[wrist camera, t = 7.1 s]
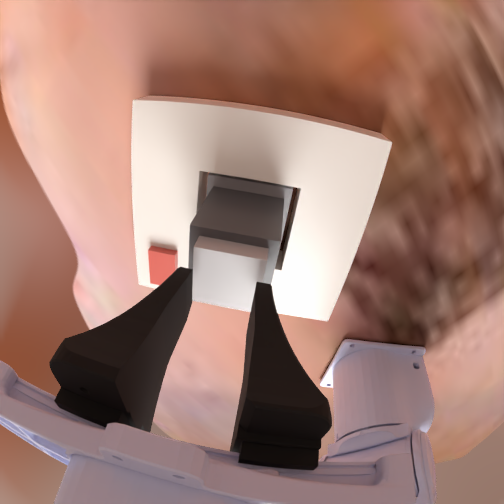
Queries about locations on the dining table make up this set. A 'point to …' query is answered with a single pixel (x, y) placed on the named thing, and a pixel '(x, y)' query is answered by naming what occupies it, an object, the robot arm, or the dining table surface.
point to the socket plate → (258, 168)
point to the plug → (234, 246)
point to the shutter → (252, 189)
